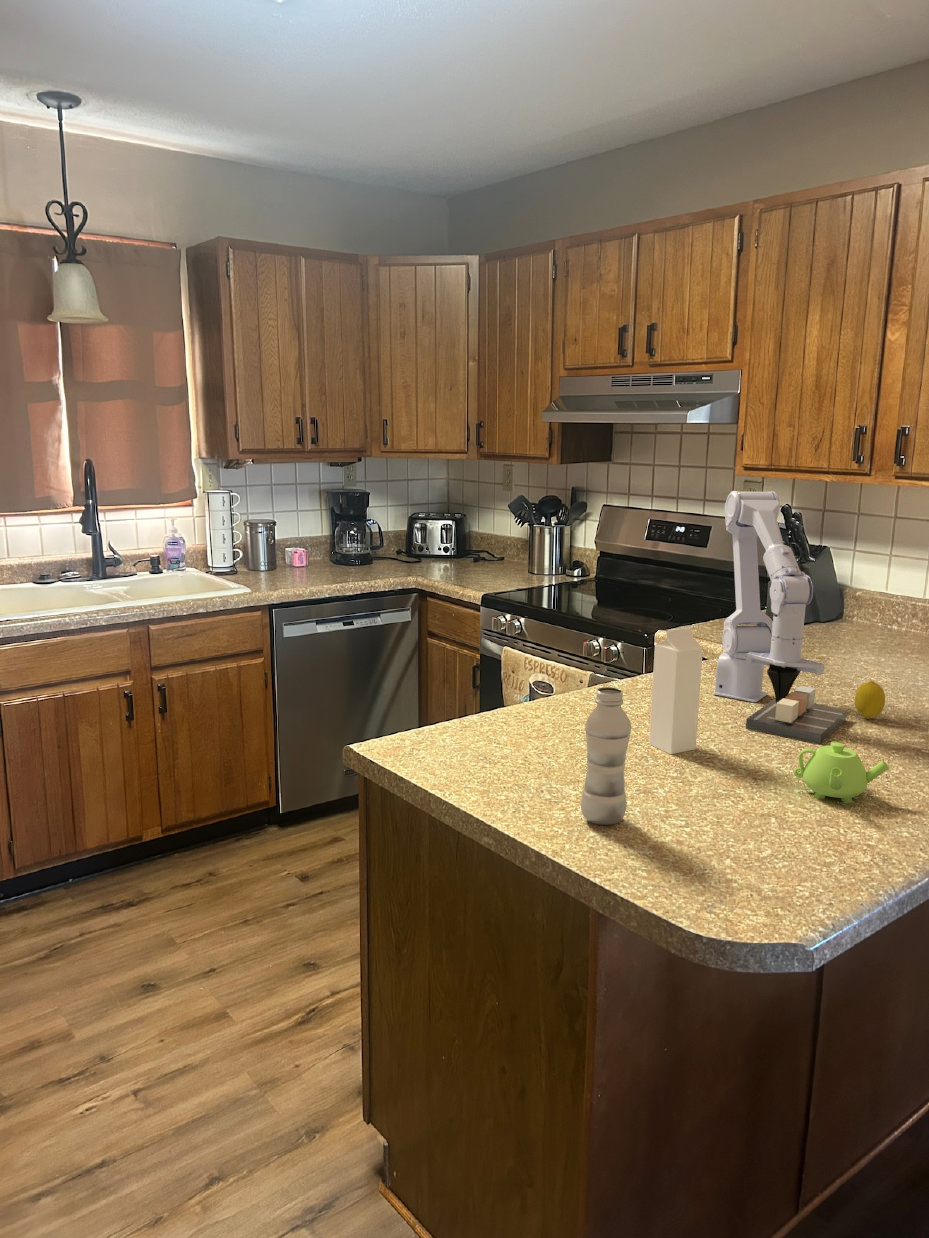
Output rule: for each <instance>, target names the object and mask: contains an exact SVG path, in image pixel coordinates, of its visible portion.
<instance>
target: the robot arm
mask: <svg viewBox="0 0 929 1238" xmlns="http://www.w3.org/2000/svg"><path fill="white" fill-rule="evenodd" d="M780 501H781V500H780V497H779V495H778V494H777V492H776V491H774V490H770V491H738V490H732V491H731V492H730V493H729V494H728V495H727V498H726V501H725V503H724V518H725V519H724V520H725V521H724V522H725V529H726V530H725V531H726V532H728V533H729V534H731V535H732V548H733V549H732V550H733V551H732V553H733V569H734V570H733V571H734V590H735V591H734V592H735V607H736V608H735V611H734V612H733V613H732V614H730V615H729V616H728V617H727V618H725V620H724V621H723V630H722V631H723V632H722V637H721V639H722V640H721V641H722V647H723V649H724V652H721V653H720V655H719V657H718V658H717V659H718V660H717V663H716V673H715V683H714V684H715V685H714V686H715V687H714V692H713V696H714V695H715V696H720V697H724V698H725V697H726V698H732V699H736V700H740V701H741V700H742V701H746V702H751V703H758V702H759V701H760V700H762V699H763V698H765V697H766V696H767V695H769V692H767V691H763V682H764V672H765V671H764V670H765V666H768V669H767V670H766V673H767V676H768V678H769V680H770V681H771V682H770V683H771V685H772V689H773V691H774V697H775V698H774V699H776V704H777V702H779V701H780V700H782V699H783V698H785V699H786V696H787V695H788V694H790V691H791V689H792V686H793V685H794V683H795V681H796V679H797V678H798V677H799V675H800V674H801V672H803V673H804V672H805V673H812V674H815V676H816V675H818V676H821V675H823V674H825V673H824V672H825V663H824V662H818V661H815V660H810V659H805V658H802V650H803V649H802V648H803V646H802V645H803V637H804V627H805V626H804V625H805V618H806V617H805V616H806V607H807V605H810V604H811V602H812V600H813V596H814V584H813V582H812V579H811V576H809V575H808V574H806V573H805V571H802V570H801V569H800V567H799V565H798V561H797V559H796V557H795V555H794V551H793V549H792V548H791V547H790V546H788V545H786V544H784V541H783V537H782V533H781V530H780V525H779V522H778V518H779V513H780V507H781V503H780ZM758 538H759V540H760V541H761V544H762V546H763V547H764V549H765V550H764V551H765V552H764V554H763V557H762V560H763V563H764V565H765V569H766V571H767V573H768V577H769V580H770V582H771V584H770V587H769V597H770V602H771V605H770V607H771V608H770V610H771V613H773V617H772V618H771V617H770V616H768V615H767V614H766V613H765V612H764V611H763V610H761V597H760V594H761V593H760V580H759V579H760V578H759V575H760V573H759V558H758V557H759V556H758V540H757V539H758Z"/></svg>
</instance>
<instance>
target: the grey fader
mask: <svg viewBox="0 0 929 1238" xmlns="http://www.w3.org/2000/svg"><path fill="white" fill-rule="evenodd" d="M793 692H796V693H801V694H807V705H806V709H809V708H810V707H811V706H812V705H815V700H816V699H815V698H816V688H815V687H809V686H804V685H800V686H798V687H797V688H795V689H794V690H793Z"/></svg>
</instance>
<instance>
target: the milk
mask: <svg viewBox="0 0 929 1238" xmlns="http://www.w3.org/2000/svg"><path fill="white" fill-rule="evenodd" d="M703 649H704V648H703V647H702V645H700V643H699V642H698V641H697V640H696V638H695V637H694V636H693V628H692V627H685V628H676V629H670V630H669V629H668V630H667V632H666V637H665V639H664V640H662V641H660V642H657V643H656V644H655V645H654V655H653V657H654V659H653V669H652V670H653V673H652V687H651V688H652V689H651V690H652V691H651V705H650V718H649V719H650V720H649V721H650V723H649V737H648V744H649V746H652V747H654V748H656V749H658V750H660V751H663V752H665V753H667V754H669V755H674V754H678V753H684V752H689V751H693V750H696V749H697V738H698V737H697V735H698V724H699V723H698V720H699V708H700V697H701V696H700V691H701V680H702V679H701V678H702V667H703V665H702V664H703V653H704V652H703V651H704V650H703Z"/></svg>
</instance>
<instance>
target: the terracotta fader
mask: <svg viewBox="0 0 929 1238" xmlns="http://www.w3.org/2000/svg"><path fill="white" fill-rule="evenodd" d="M786 699H790V700H795V701H799V707H798V715H799V716H800V715H801V714H803V713H804V712H805V711H806V705H807V694H801V693H796V692H794V691H791V692H789V694H788V695H787V696H786Z"/></svg>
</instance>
